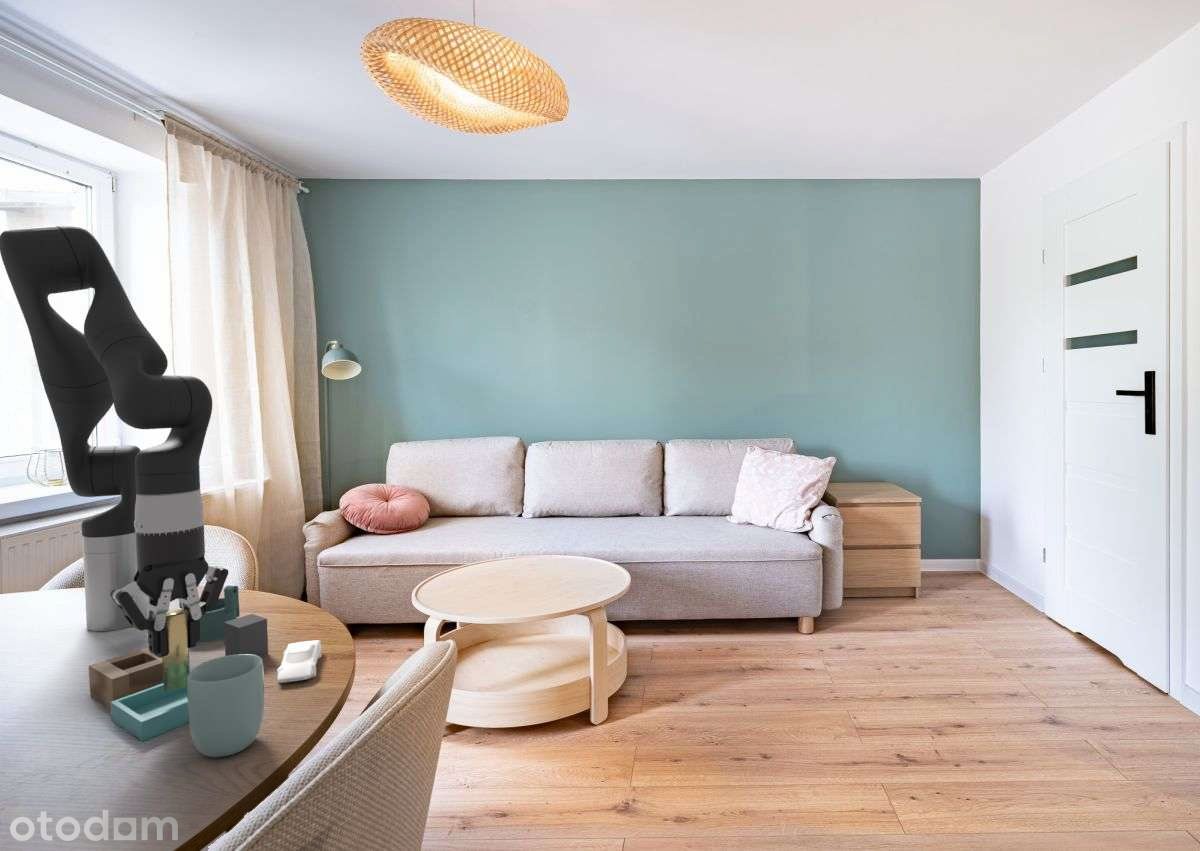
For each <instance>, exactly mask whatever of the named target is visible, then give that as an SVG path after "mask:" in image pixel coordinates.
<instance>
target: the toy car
mask: <svg viewBox="0 0 1200 851" xmlns="http://www.w3.org/2000/svg"><path fill="white" fill-rule="evenodd" d="M321 658H322V642H321V640H319V639H316V640H304V641H297V642H293V643H288V645H287V646H286V649H285V650H284V651H283V658H282V660H281V663H280V666H279V667H278V668H277V670H276V681H277V683H280V684H282V683H283V684H284V683H291V682H292V683H293V682H299V681H303V680H304V681H305V680H309V679H311V678H315V677H317V676H316V675H317V663H318V660H319V659H321Z"/></svg>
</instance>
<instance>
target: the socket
mask: <svg viewBox="0 0 1200 851" xmlns="http://www.w3.org/2000/svg"><path fill="white" fill-rule="evenodd" d="M88 678H89V680H88V681H89V696H90V697H91V698H93V699H94V700H95V701H97V702H98V703H100V704H101V705H103V706H105V707H106V708H107V709H110V710H111V703H110V702H112V701H114V700H117V699H120V698H123V697H126V696H129V695H131V694H134V693H137V692H140V691H143V690H145V689H148V688H151V687H154V686H157V685H159V684H162V683H163V666H162V657H161V658H159V657H157V656H155V655H154V654H153V653H151V652H150V651H149V646H147V647H144V648H141V649H137V650H135V651H130V652H128V653H124V654H121V655H117V656H114V657H111V658H108V659H105V660H101V661H97V662H95V663H91V664H88Z"/></svg>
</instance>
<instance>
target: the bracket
mask: <svg viewBox="0 0 1200 851" xmlns="http://www.w3.org/2000/svg"><path fill="white" fill-rule="evenodd" d="M223 594H224V596H223V597H219V599H218V601H217V604H216V606H215V609H214V610H213V611H211V612H206V613H205V614H203V615H202V616H201V618H200V640H199V641H198V642H196V644H201V643H208V642H213V641H217V640H221V639H225V633H224V622H226V621H230V620H233V619H236V618H240V617H241V616H240V600H239V599H240V598H239V596H240V595H239V586H238V585H226V586H225V587H224V588H223ZM178 602H179V609H182V605H181V603H180V601H179V600H178Z"/></svg>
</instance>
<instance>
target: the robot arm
mask: <svg viewBox="0 0 1200 851" xmlns="http://www.w3.org/2000/svg"><path fill="white" fill-rule="evenodd" d="M0 257H1V260H2V263H3V266H4V269H5V271H6V274H7V277H8V280H9V282H10V285H11V287H12V290H13V292H14V295H15V298H16V299H17V303H18V305H19V308H20V311H21V313H22V315H23V318H24V321H25V323H26V326H27V328H28V332H29V333H28V334H29V335H30V339H31V343H32V346H33V350H34V355H35V359H36V363H37V367H38V372H39V374H40V380H41V381H42V384H43V388H44V392H45V395H46V397H47V401H48V402H49V406H50V408H51V409H50V410H51V411H52V415H53V417H54V421H55V424H56V426H57V431H58V434H59V435H58V436H59V438H60V445H61V449H62V454H63V456H62V457H63V461H64V467H65V472H66V476H67V480H68V483H69V486H70V489H71V490H72V491H73V493H74V494H75V495H77V497H82V498H83V497H84V498H94V497H97V498H98V497H108V496H109V497H110V496H111V497H112V496H113V497H114V496H121V499H120V502H118V504H116V505H114V506H113V507H112V508H110V509H107V510H105V511H103V512H99V513H95V514H94V515H91V516H88V517H87V518H85V519H84V520H83V521H82V522H81V539H82V540H81V541H82V556H83V557H82V558H83V577H84V596H85V597H84V598H85V617H86V618H85V621H86V622H85V623H86V629H87V630H89V631H93V632H100V631H101V632H103V631H104V632H105V631H112V630H113V631H114V630H118V629H120V630H121V629H124V628H127V627H132V628H134V629H136V630H139V631H147V635H148V636H147V639H148V640H147V641H148V642H147V643H148V647H149V651H150V652H151V653H153V654H154V655H155V656H157V657H159V658H161V657H164V656H167V641H166V629H164V626H165V619H166V613H167V612H168V611H170V603H171V602H173V601H175V600H178V602H179V601H180V603H181V605H182V609H185V610H187V612H188V637H189V649H192V648H195V647H197V643H196V642H198V641H199V640H200V618H201V616H202V615H203V614H205V613H206V612H211V611H213V610H214V609H215V606H216V604H217V601H218V599H219V598H220V596H221V593H222V591H223V589H224V586H225V582H226V581H227V578H228V576H229V570H228V569H226V568H224V567H222V566H218V565H217V566H211V565H210V566H209V563H208V562H207V560H206V559H205V558H206V557H205V553H206V545H205V544H206V543H205V540H206V539H205V523H204V522H205V519H204V518H205V517H204V502H203V498H202V494H201V477H200V476H201V473H200V467H201V466H200V459H201V458H200V457H201V454H202V450H203V447H204V442H205V437H206V435H207V432H208V428H209V425H210V420H211V418H212V413H213V412H212V411H213V398H212V394H211V392H210V389H209V388H208V386H207V384H205V382H204V381H202V380H201V379H200V378H198V377H196V376H191V375H168V374H167V375H166V374H165V373H166V371H167V369H168V364H169V362H168V358H167V355H166V353H165V352H164V350H163V348H161V346H160V345H159V343H158V342H157V340H156V339H155V338H154V336H153V335H152V334H151V333H150V331H149V330H148V329H147V328H146V326H145V325H144V323H143V322H142V321H141V319H140V318H139V317H138V315H137V313H136V311H135V309H134V307H133V305H132V304H131V301H130V298H129V296H128V295H127V292H126V291H125V289H124V286H123V285H122V283H121V281H120V279H119V277H118V275H117V273H116V271H115V270H114V268H113V265H112V263H111V261H110V260H109V258H108V256H107V254H106V253H105V251H104V249H103V247H102V246H101V244H100V243H99V241H98V239H96V237H95V236H94V235H93V234H92V233H91V231H89V230H87V229H86V228H84V227H82V226H79V225H55V226H54V225H53V226H36V227H24V228H23V227H21V228H12V229H7V230H4V231H2V232H1V233H0ZM89 289H94V293H93V299H92V301H91V304H90V307H89V309H88V311H87V314H86V316H85V319H84V325H83V332H81V331H80V330H78V329H77V328H76V327H74V326H73V325H72V324H70V323H69V322H68V321H67V320H65V318H63V316H61V315H60V314H59V312H57V311H56V310H55V309H54V308H53V307H52V306H51V304H50V301H49V295H52V294H60V293H61V294H62V293H68V292H76V291H82V290H83V291H84V290H89ZM164 374H165V375H164ZM112 406H113V407H114V412H115V414H116V416H118V418H119V419H120V420H121V422H123V423H125V424H126V425H128V426H130V427H131V428H133V429H137V430H157V429H159V430H160V429H170V431H169V434H168V436H167V437H166V440H165V441H164V442H163V443H160V444H157V445H155V446H151V447H147V448H145V449H142V450H141V448H139V447H138V446H137V445H129V444H128V445H106V446H105V445H103V446H101V445H100V446H93V445H90V443H89V439H90V436H91V435H92V433H93V431H94V429H95V428H96V426H97V425H98V424H99V423H100V422H101V421H102V419H104V417H105V416H106V414H107V413H108V412H109V411H110V409H111V408H112ZM204 577H205V581H206V582H205V585H204V587H203V590H202V592H201V595H200V594H199V591H198V587H199V585H200V584H201V582H202V581H203V579H204Z"/></svg>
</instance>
